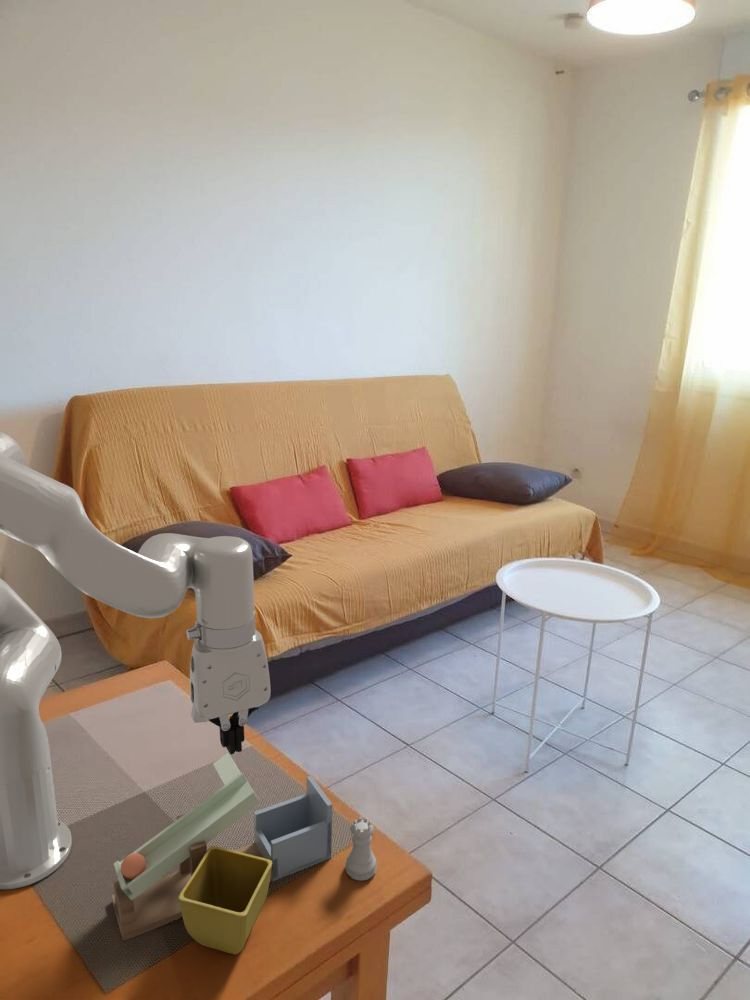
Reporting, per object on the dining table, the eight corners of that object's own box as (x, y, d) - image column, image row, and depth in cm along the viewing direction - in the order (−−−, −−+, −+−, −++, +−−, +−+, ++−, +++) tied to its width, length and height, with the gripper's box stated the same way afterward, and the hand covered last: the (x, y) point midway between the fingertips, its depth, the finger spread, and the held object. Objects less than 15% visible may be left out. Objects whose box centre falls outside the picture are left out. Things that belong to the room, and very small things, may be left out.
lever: (113, 841, 99) (103, 829, 98) (231, 755, 105) (224, 743, 104) (131, 900, 90) (121, 889, 89) (260, 802, 96) (252, 790, 95)
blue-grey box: (254, 847, 105) (253, 794, 102) (310, 826, 109) (311, 775, 107) (273, 881, 99) (272, 825, 96) (331, 857, 104) (332, 804, 101)
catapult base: (112, 901, 95) (106, 840, 92) (254, 848, 105) (253, 790, 102) (123, 941, 89) (117, 877, 87) (272, 880, 99) (272, 821, 96)
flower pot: (244, 975, 86) (244, 916, 83) (178, 955, 88) (176, 897, 85) (272, 915, 94) (273, 860, 91) (211, 898, 96) (210, 844, 93)
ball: (123, 872, 93) (115, 857, 91) (146, 859, 94) (138, 843, 92) (129, 889, 90) (120, 873, 89) (151, 875, 91) (143, 859, 90)
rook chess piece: (358, 853, 105) (359, 807, 102) (383, 868, 102) (385, 821, 100) (338, 872, 101) (339, 825, 99) (364, 888, 99) (365, 840, 96)
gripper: (177, 655, 88) (187, 780, 94) (290, 628, 95) (292, 746, 101) (162, 630, 94) (172, 749, 100) (269, 606, 102) (272, 719, 107)
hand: (232, 747), depth 100 cm, fingers closed
